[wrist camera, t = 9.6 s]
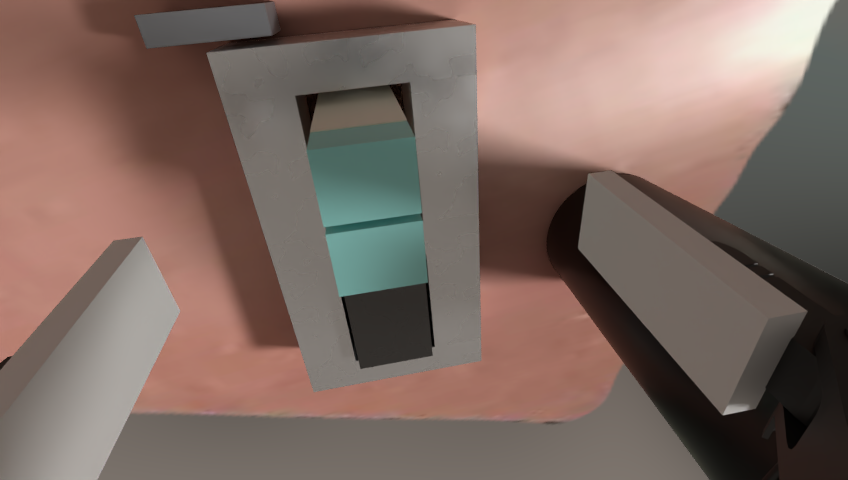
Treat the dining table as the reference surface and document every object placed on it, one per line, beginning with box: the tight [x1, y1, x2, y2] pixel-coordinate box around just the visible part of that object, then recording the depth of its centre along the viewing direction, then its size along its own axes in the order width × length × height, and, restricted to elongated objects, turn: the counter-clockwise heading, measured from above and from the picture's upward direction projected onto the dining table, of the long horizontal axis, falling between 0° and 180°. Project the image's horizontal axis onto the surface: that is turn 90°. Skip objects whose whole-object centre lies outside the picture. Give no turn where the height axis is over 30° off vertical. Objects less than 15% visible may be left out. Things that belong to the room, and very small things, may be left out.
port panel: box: [206, 19, 481, 392], centre depth 24 cm, size 20×11×5 cm, turn 5°
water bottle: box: [547, 174, 848, 480], centre depth 19 cm, size 10×10×23 cm
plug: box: [306, 85, 428, 297], centre depth 19 cm, size 6×4×10 cm, turn 5°
